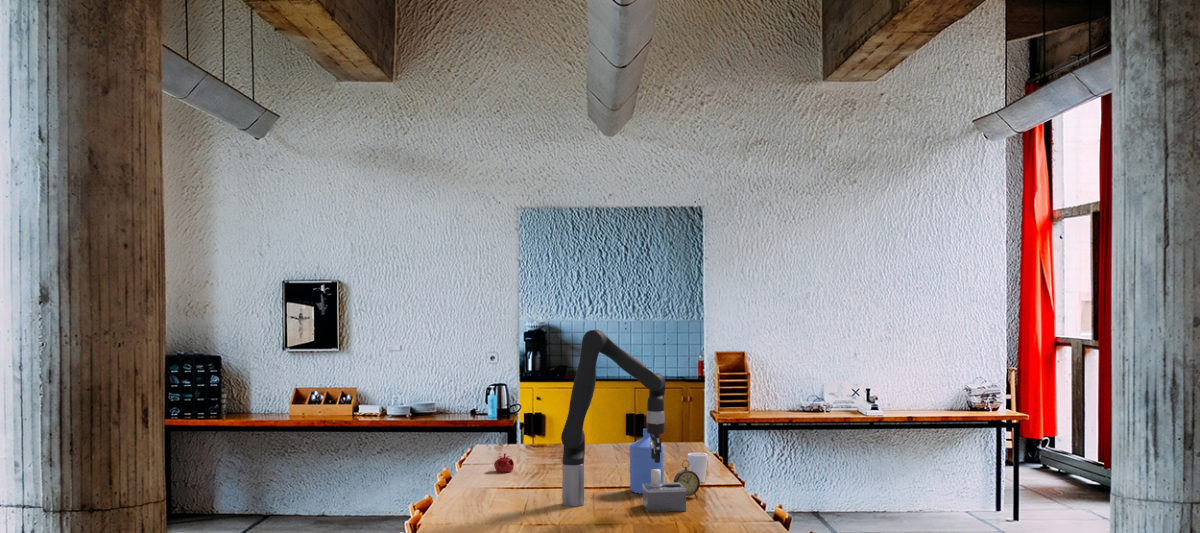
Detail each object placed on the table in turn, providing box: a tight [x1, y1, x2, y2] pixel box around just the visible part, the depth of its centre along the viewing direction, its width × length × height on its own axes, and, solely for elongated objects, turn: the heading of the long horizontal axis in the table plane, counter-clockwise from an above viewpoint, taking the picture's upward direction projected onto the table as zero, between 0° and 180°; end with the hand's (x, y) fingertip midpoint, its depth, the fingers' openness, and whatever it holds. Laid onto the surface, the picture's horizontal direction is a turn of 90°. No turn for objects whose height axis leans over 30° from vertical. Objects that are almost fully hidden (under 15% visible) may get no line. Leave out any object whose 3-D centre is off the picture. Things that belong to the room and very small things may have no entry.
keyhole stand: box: [642, 481, 687, 513], centre depth 377 cm, size 16×14×9 cm
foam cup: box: [687, 452, 709, 483], centre depth 430 cm, size 10×9×13 cm
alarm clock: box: [673, 459, 701, 498], centre depth 396 cm, size 11×5×16 cm, turn 105°
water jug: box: [629, 428, 665, 495], centre depth 411 cm, size 16×16×28 cm
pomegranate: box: [493, 452, 515, 473], centre depth 460 cm, size 10×10×9 cm
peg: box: [650, 469, 662, 488], centre depth 377 cm, size 5×5×10 cm
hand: (655, 460), depth 377 cm, fingers open, 8 cm apart
